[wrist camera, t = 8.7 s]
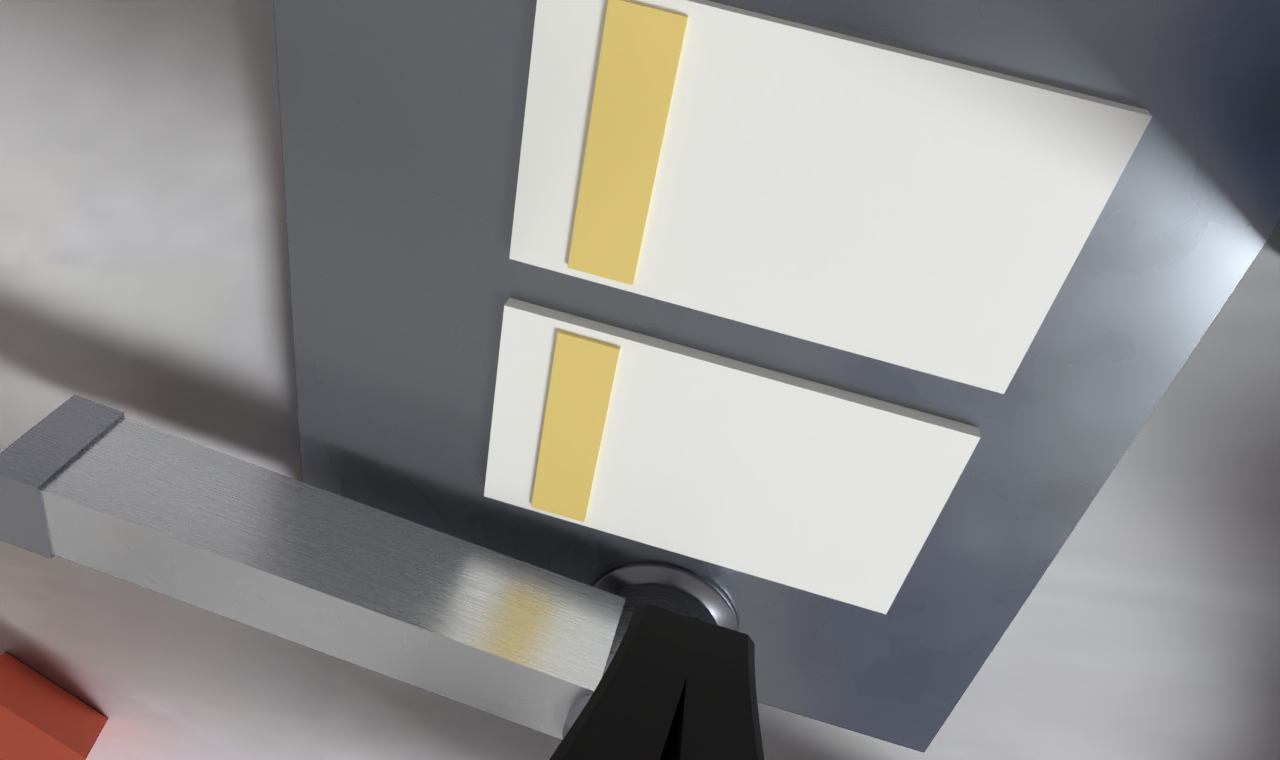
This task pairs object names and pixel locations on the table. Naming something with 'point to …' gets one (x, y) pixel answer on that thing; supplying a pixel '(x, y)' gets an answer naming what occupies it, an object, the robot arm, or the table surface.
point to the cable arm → (316, 566)
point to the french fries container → (42, 717)
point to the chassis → (486, 278)
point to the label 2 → (717, 456)
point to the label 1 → (810, 180)
